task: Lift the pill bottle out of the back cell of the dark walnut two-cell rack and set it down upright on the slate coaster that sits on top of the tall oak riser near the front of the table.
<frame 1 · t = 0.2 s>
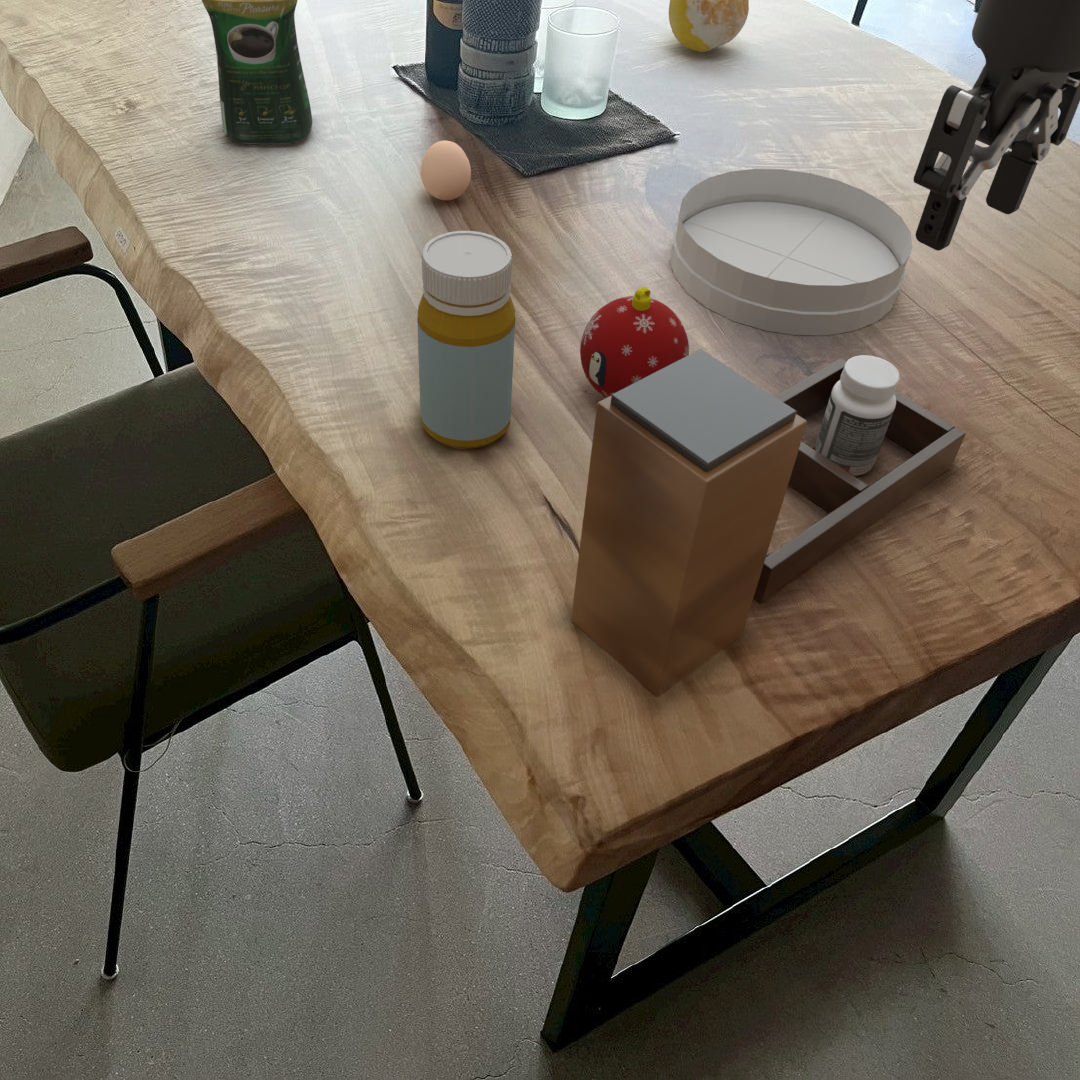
hand: (966, 226, 71), 18 cm above the table, tool pointing down, fingers open, 8 cm apart
coaster: (702, 411, 56), resting on riser
riser: (656, 627, 69), on the table
christmas ornament: (627, 396, 86), on the table
bottle: (465, 426, 82), on the table
coffee jar: (268, 134, 116), on the table
rack: (798, 486, 79), on the table
dish: (782, 271, 101), on the table
pill bottle: (842, 459, 82), resting in rack
fruit: (701, 51, 140), on the table
egg: (445, 199, 108), on the table
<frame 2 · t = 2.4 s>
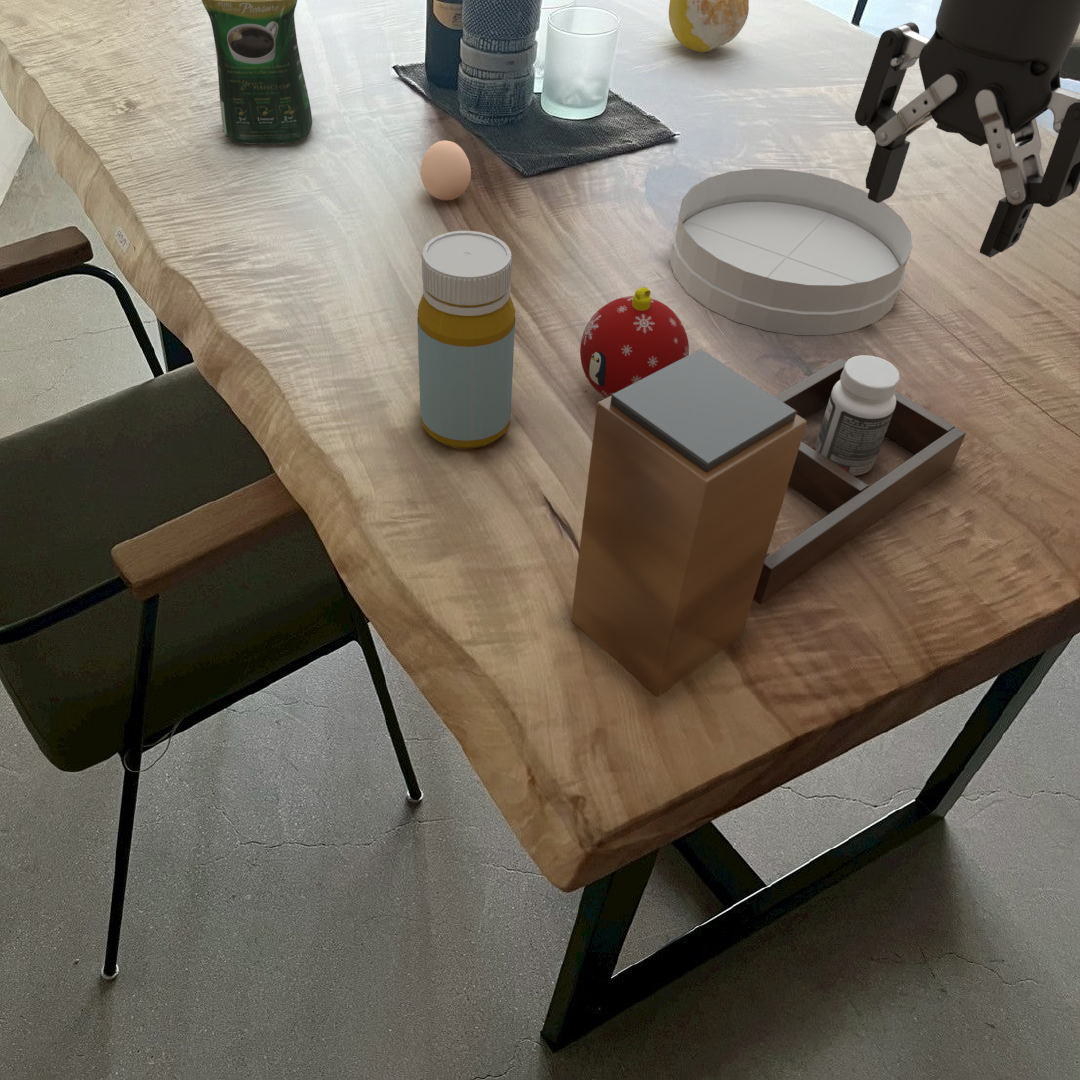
hand: (934, 224, 68), 20 cm above the table, tool pointing down, fingers open, 8 cm apart
nothing on the table moved.
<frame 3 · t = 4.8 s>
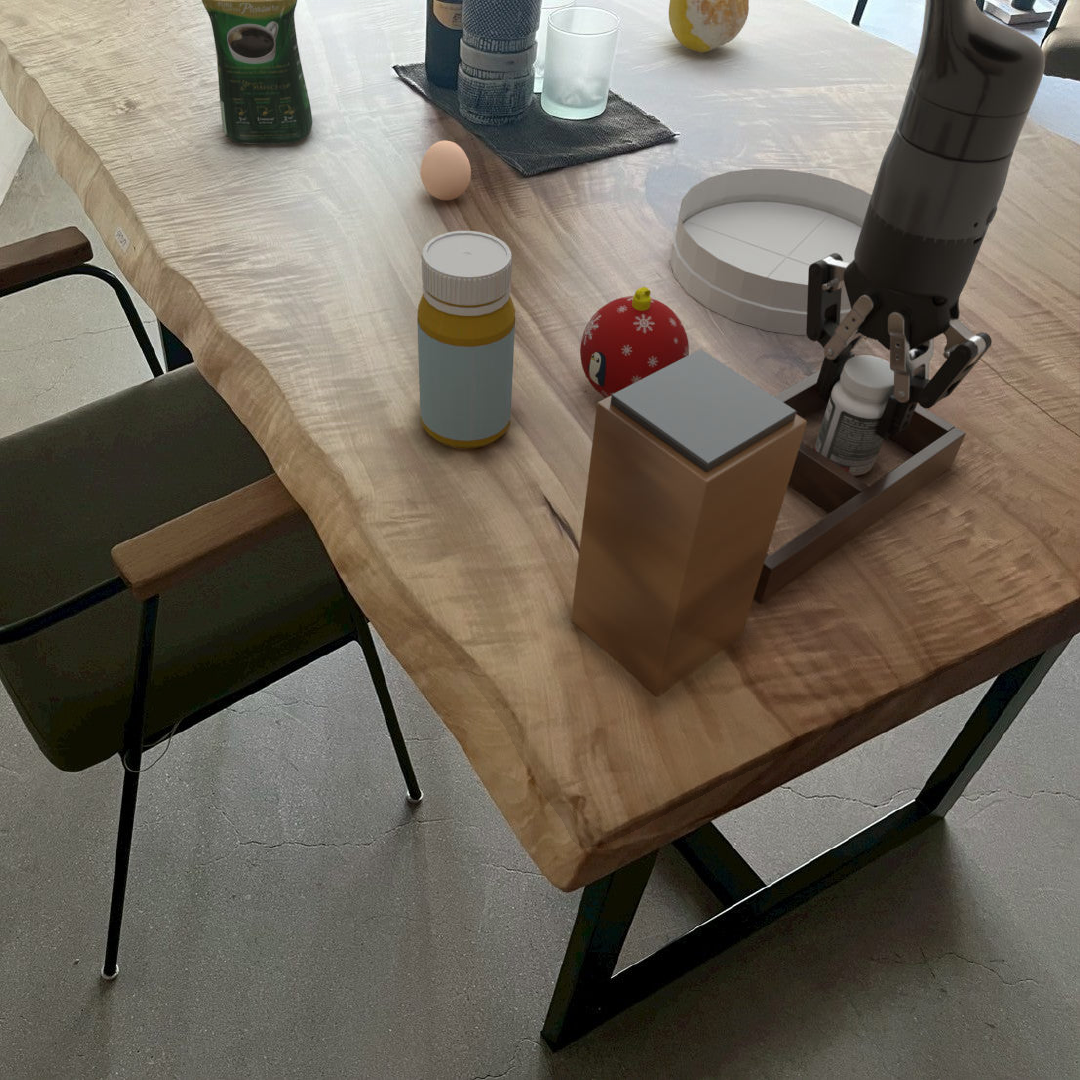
hand: (858, 414, 79), 4 cm above the table, tool pointing down, fingers closed on pill bottle, 4 cm apart
pill bottle: (842, 459, 82), resting in rack, touching gripper
everything else where it was.
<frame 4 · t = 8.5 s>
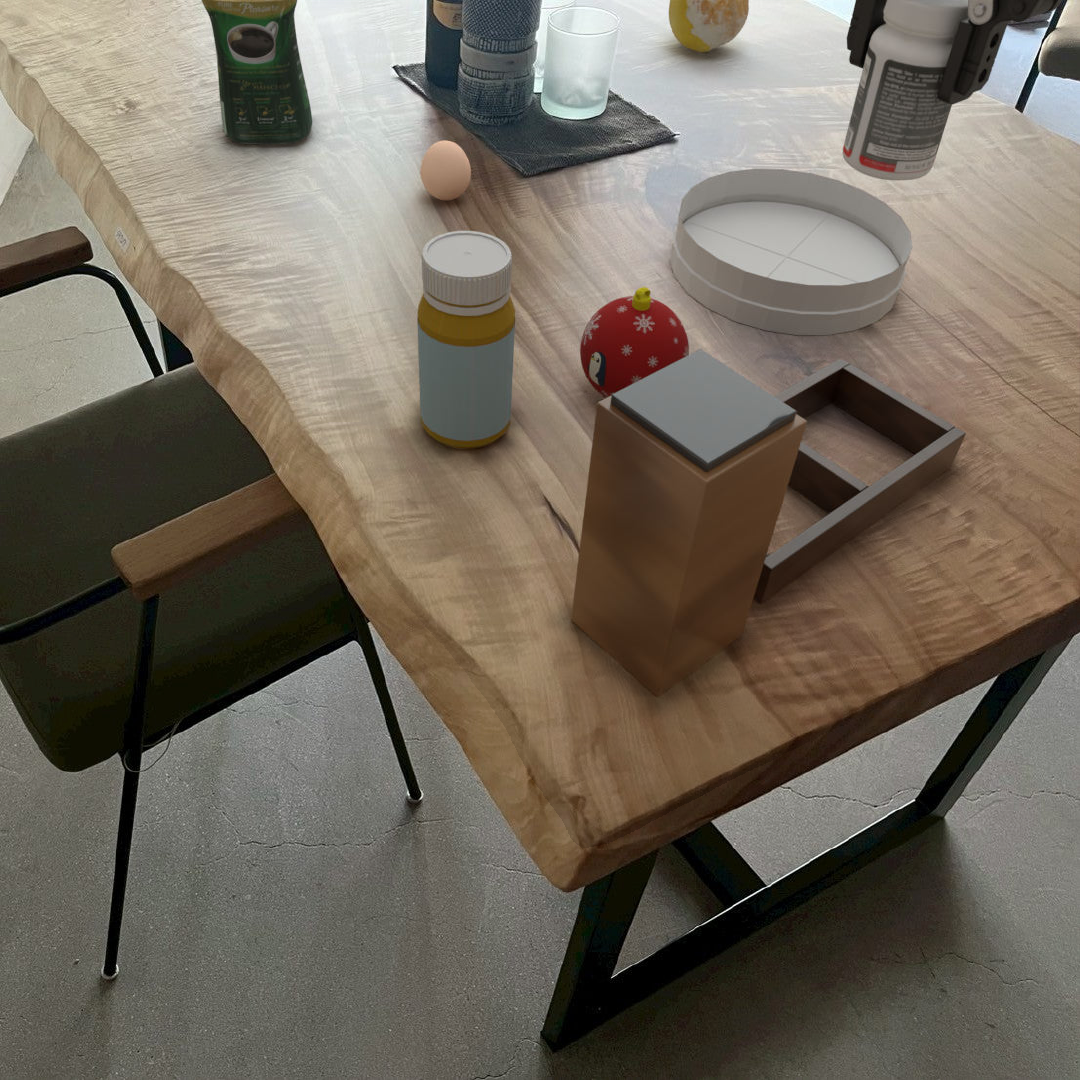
hand: (909, 79, 53), 32 cm above the table, tool pointing down, fingers closed on pill bottle, 4 cm apart
pill bottle: (884, 166, 56), point 28 cm above the table, touching gripper
everything else where it was.
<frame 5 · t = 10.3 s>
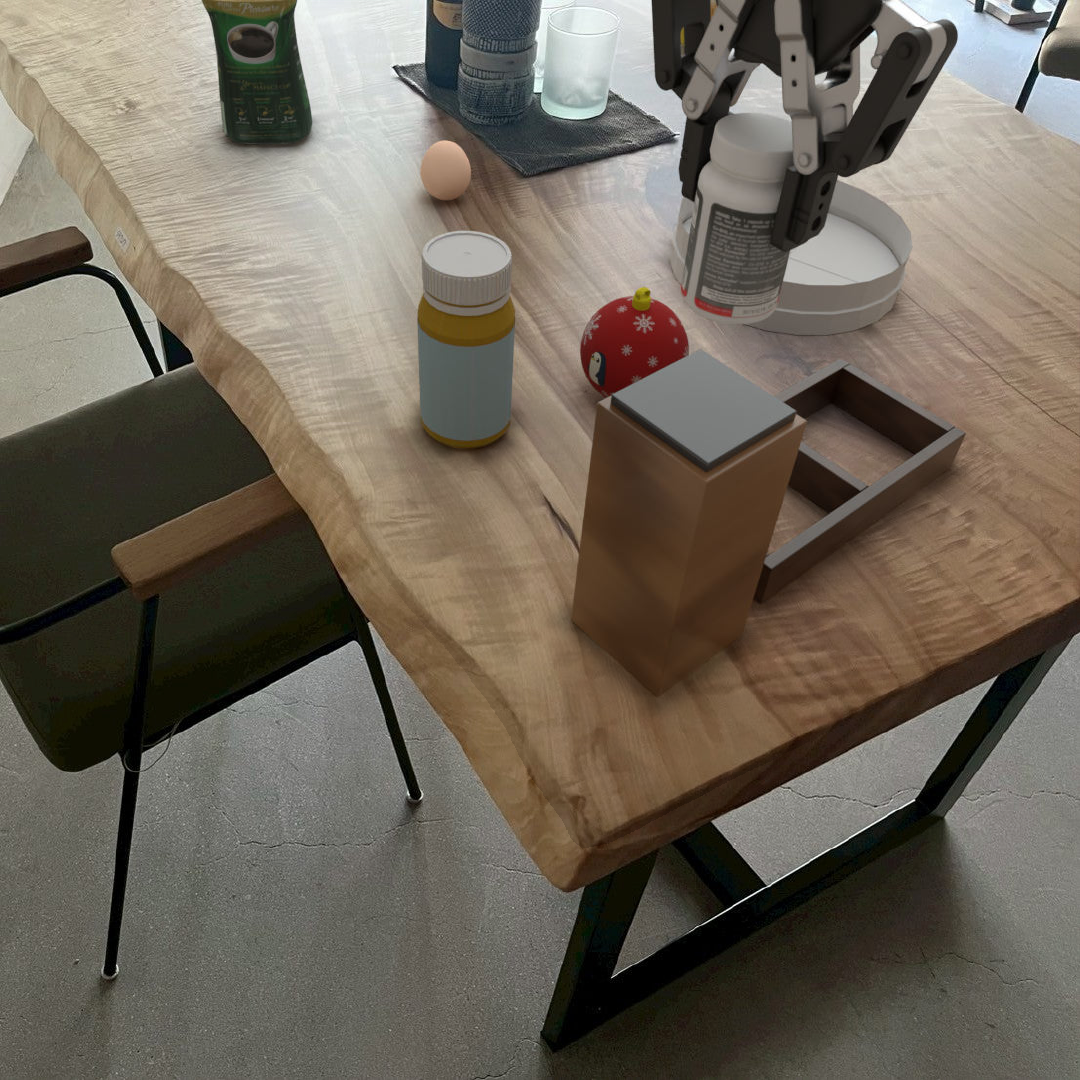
hand: (745, 217, 48), 29 cm above the table, tool pointing down, fingers closed on pill bottle, 4 cm apart
pill bottle: (726, 303, 51), point 25 cm above the table, touching gripper
everything else where it was.
when the fingers open (23 cm above the table, at t = 12.2 s): pill bottle stays where it is, resting on coaster.
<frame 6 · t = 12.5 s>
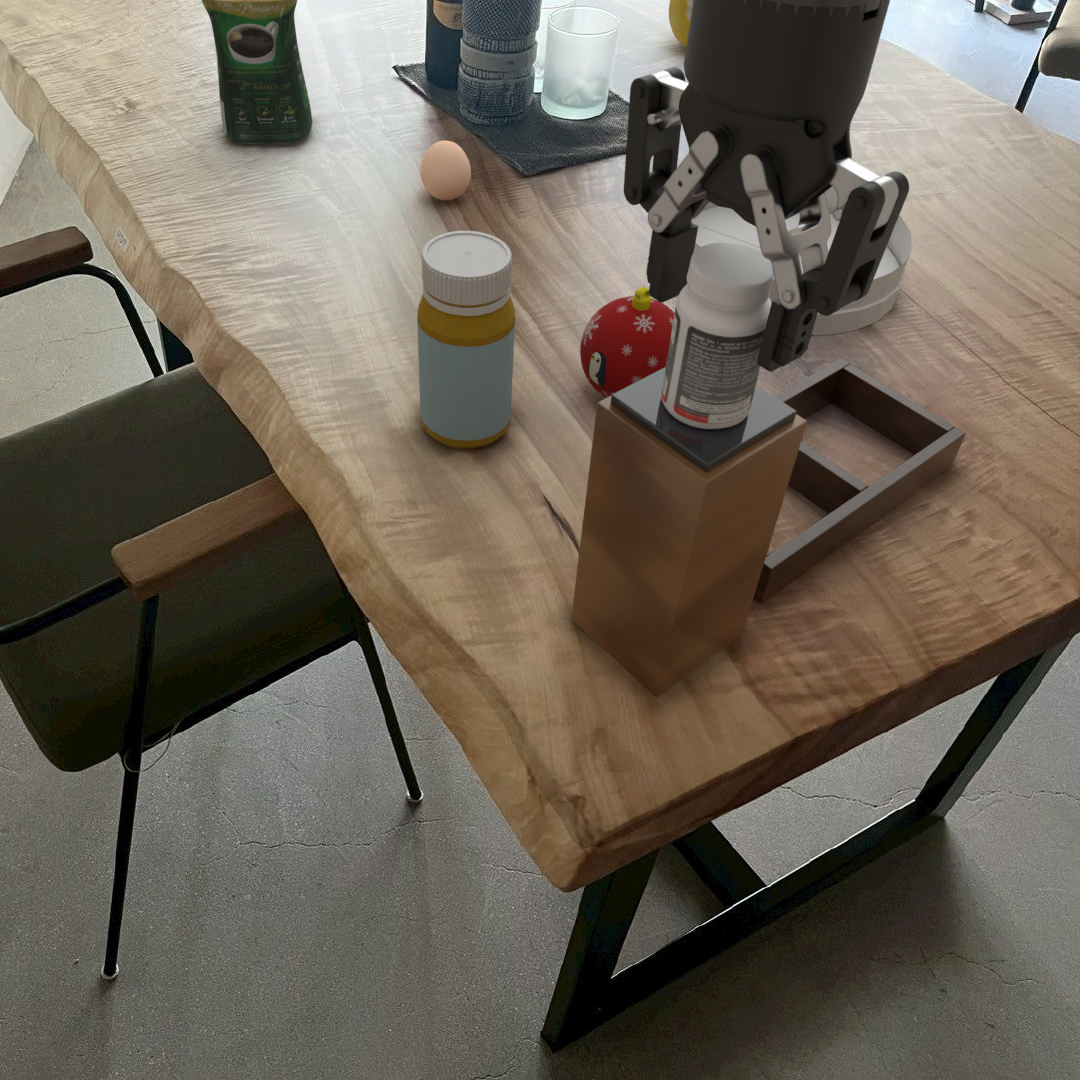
hand: (720, 327, 52), 23 cm above the table, tool pointing down, fingers open, 6 cm apart
pill bottle: (704, 406, 55), point 18 cm above the table, touching coaster
everything else where it was.
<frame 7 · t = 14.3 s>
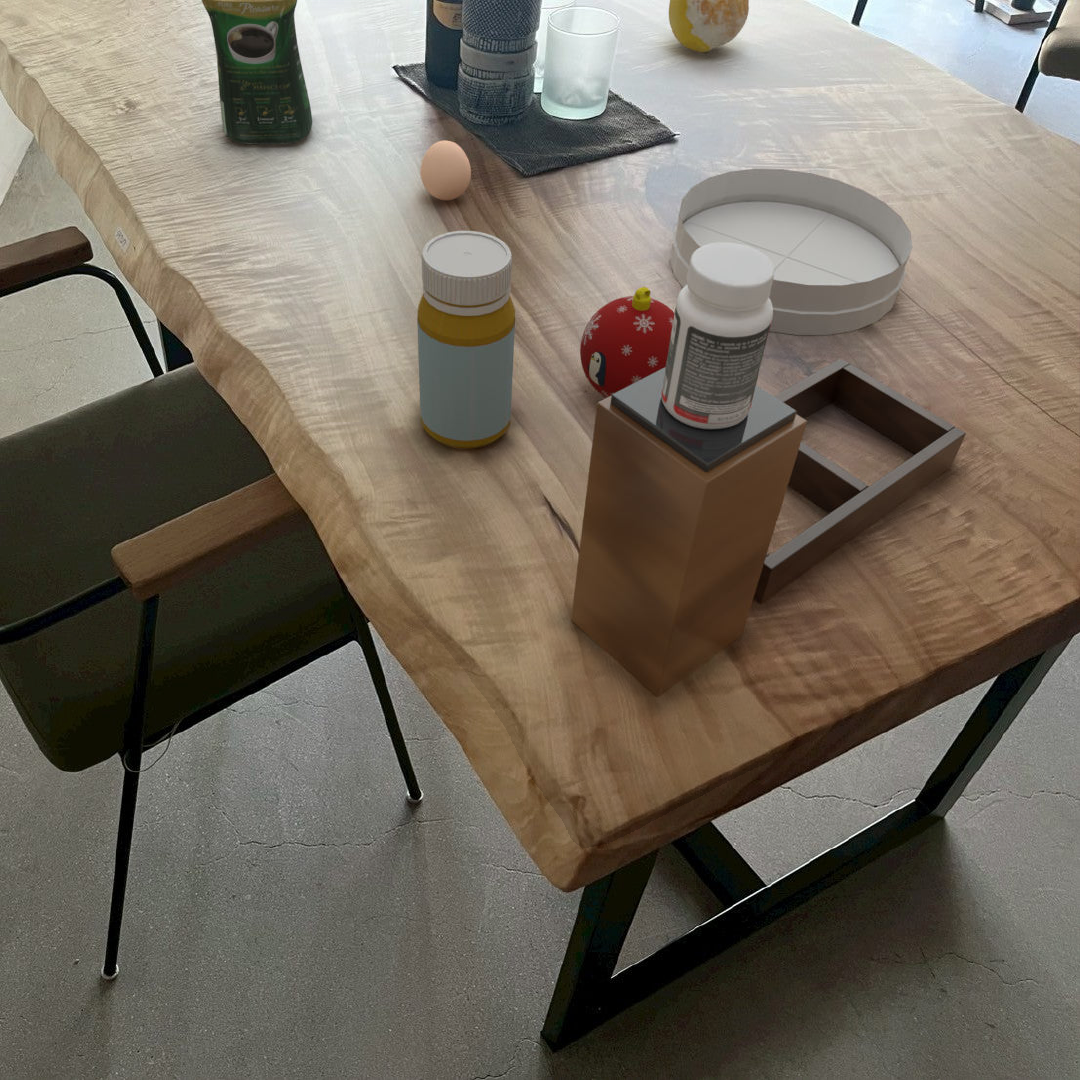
nothing on the table moved.
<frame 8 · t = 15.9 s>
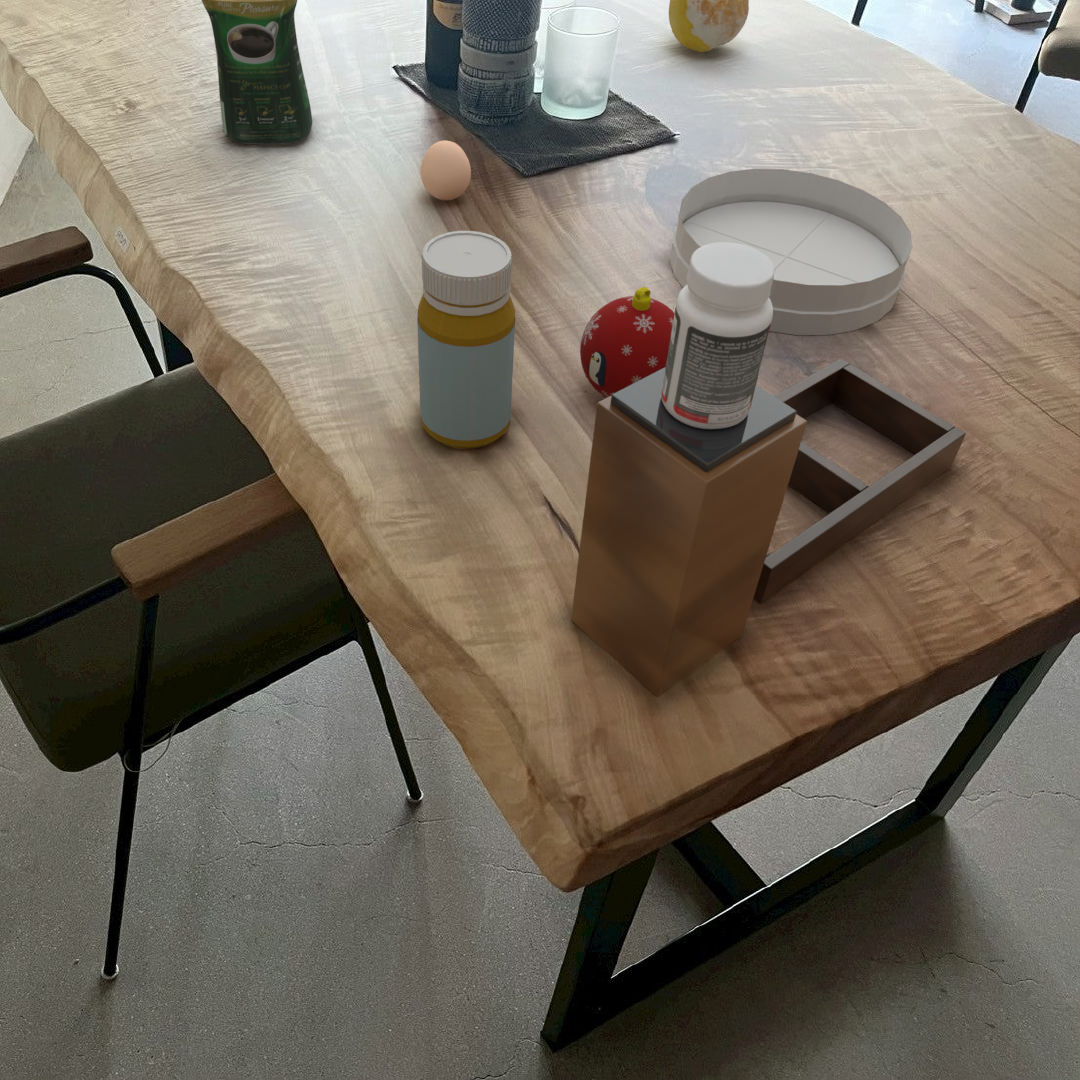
nothing on the table moved.
at the end: pill bottle 0.1 cm off-centre on the coaster, point 0.4 cm above the coaster's base; pill bottle tilted 0°; the gripper is holding nothing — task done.
